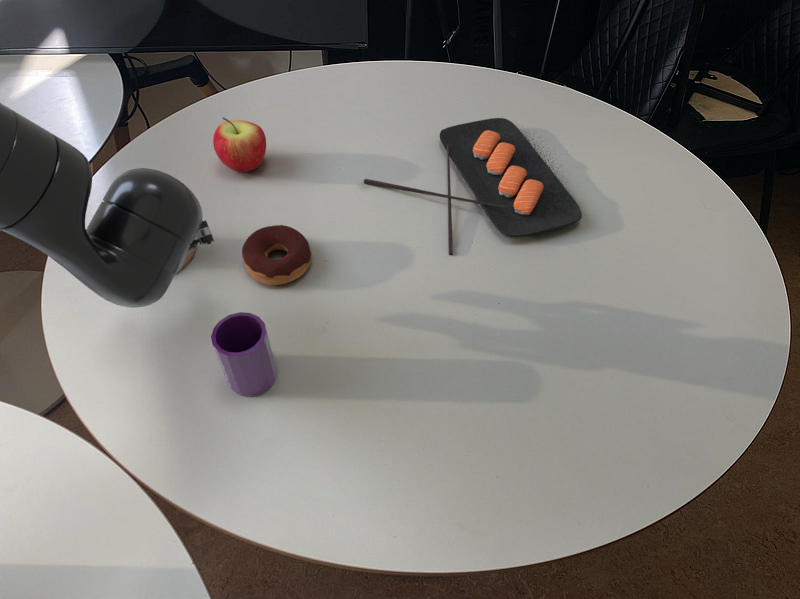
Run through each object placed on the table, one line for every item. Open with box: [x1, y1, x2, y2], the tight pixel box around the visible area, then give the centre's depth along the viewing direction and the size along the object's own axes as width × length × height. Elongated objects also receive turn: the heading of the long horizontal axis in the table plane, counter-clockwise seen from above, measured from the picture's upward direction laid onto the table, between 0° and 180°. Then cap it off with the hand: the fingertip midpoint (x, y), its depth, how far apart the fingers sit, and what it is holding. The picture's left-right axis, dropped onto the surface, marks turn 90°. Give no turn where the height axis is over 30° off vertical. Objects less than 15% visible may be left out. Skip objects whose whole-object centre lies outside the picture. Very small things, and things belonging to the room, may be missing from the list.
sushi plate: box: [363, 117, 583, 256], centre depth 98 cm, size 29×30×4 cm
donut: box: [241, 224, 313, 286], centre depth 87 cm, size 10×10×4 cm
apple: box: [212, 116, 267, 173], centre depth 98 cm, size 8×8×10 cm
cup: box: [210, 311, 278, 397], centre depth 73 cm, size 6×6×9 cm
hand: (153, 253), depth 77 cm, fingers open, 8 cm apart
